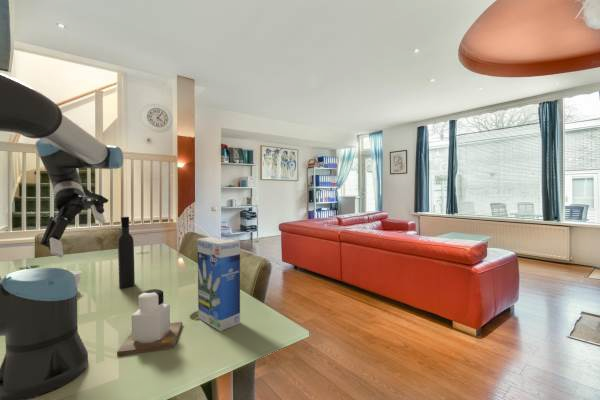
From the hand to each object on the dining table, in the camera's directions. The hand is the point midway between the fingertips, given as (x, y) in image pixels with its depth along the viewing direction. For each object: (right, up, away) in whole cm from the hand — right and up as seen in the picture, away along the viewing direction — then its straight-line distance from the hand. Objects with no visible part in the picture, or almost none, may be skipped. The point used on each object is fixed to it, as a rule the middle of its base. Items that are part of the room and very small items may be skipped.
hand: (79, 237), depth 75 cm
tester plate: (+19, -28, +1) cm, 34 cm away
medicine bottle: (+19, -27, +1) cm, 33 cm away
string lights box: (+35, -28, +12) cm, 46 cm away
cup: (-34, -28, +39) cm, 59 cm away
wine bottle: (-15, -27, +45) cm, 55 cm away
